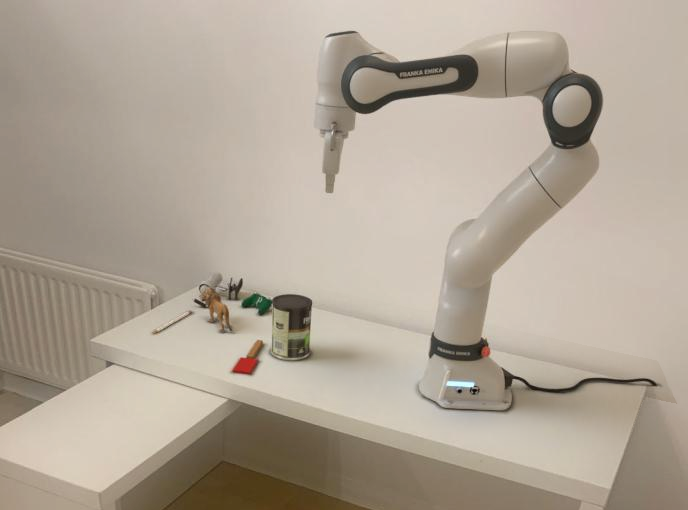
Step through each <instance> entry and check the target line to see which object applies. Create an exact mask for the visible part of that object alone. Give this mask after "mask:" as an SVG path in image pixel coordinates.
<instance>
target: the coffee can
mask: <svg viewBox="0 0 688 510" xmlns="http://www.w3.org/2000/svg"><path fill="white" fill-rule="evenodd" d="M271 299H272V305H271V309H272V310H271V350H270V353H271V355H272V356H273V357H275V358H276V359H279V360H282V361H283V360H284V361H299V360H301V361H302V360H304V359H306V358H308V357H309V356H310V346H311V345H310V344H311V327H312V325H311V324H312V306H313V300H312V299H311V298H310V297H308V296H305V295H301V294H295V293H292V294H291V293H286V294H285V293H284V294H280V295H277V296H274V297H273V298H271Z"/></svg>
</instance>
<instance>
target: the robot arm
mask: <svg viewBox="0 0 688 510" xmlns="http://www.w3.org/2000/svg"><path fill="white" fill-rule="evenodd" d="M569 55H570V54H569V47H568V44H567V42H566V39H565V37H564V36H563V35H562V34H560V33H558V32H555V31H545V30H519V31H510V32H501V33H497V34H493V35H489V36H485V37H482V38H480V39H477V40H475V41H472V42H470V43H467V44H465V45H463V46H462V47H460V48H458V49H456V50H455V49H454V50H453V51H451V52H449V53H446V54H442V55H440V56H436V57H431V58H423V59H422V58H421V59H414V60H407V61H399V60H398V58H396V57H395V56H393V55H392V54H389V53H387V52H385V51H382V50H381V49H379V48H377V47H375V46H374V45H372V43H369V42H368V41H367V40H366V39H365V38H363V37H362V35H361V34H360V32H358V31H356V30H346V31H338V32H333V33H329V34H327V35H326V36H325V37H324V38H323V39H322V41H321V44H320V49H319V54H318V62H317V74H316V83H317V94H316V98H315V104H314V105H315V106H314V123H313V125H314V126H313V127H314V128H315V129H318V130H319V132H318V133H319V134H318V135H319V137H321V138H323V147H322V148H323V149H322V162H321V163H322V165H321V171H322V174H324V175H325V178H324V179H325V188H324V189H325V190H324V191H325V193H326V194H333V193H334V191H335V190H334V189H335V181H336V176H337V175H339V172H340V166H341V158H342V153H343V148H344V143H345V140H346V139H348V138H349V132H352V131H355V129H356V119H357V113H358V114H361V115H369V114H374V113H376V112H377V111H379V110H380V109H382V108H383V107H385V106H387V105H389V104H390V103H392V102H395V101H400V100H406V99H407V100H408V99H413V98H423V97H430V96H439V95H441V96H443V95H445V96H457V97H458V96H459V97H467V98H476V99H507V98H515V97H532V98H536V99H538V101H540V103H541V106H542V119H543V123H544V125H545V128H546V131H547V133H548V136H549V139H550V143H549V145H548V146H547V148H546V149H545V150H543V152H542V153H541V154H540V155H539V157H537V158H536V159H535V160H534V161H533V162H532V163H530V164H529V165H528V166H526V168H525V169H524V170H523V171H522V172H521V173H520V174H519V175H517V176H516V177H515V178H514V179H513V180H512V181H510V183H509V184H507V186H505V187H504V188H503V189H502V190H501V191H500V192H499V193H497V195H496V196H495V197H494V199H493V200H492V201H491V202H490V203H489V204H488V205H487V207H486V208H485V209H484V210H483V211H482V212H481V213H480V215H478V216H477V217H476V218H471V219H467V220H465V221H463V222H461V223H459V224H458V225H457V226H456V227H455V228H454V229H453V230H452V232H451V233H450V236H449V238H448V242H447V246H446V251H445V255H444V267H443V272H442V278H441V279H442V280H441V285H440V291H439V296H438V302H437V307H436V308H437V309H436V316H435V321H434V328H433V331H432V333H431V337H430V340H429V346H428V351H427V352H428V360H427V362H426V363H427V364H426V366H425V370H424V372H423V376H422V378H421V380H420V382H419V384H418V391H419V393H420V394H421V395H423V397H425V398H427V399H429V400H431V401H433V402H435V403H437V404H438V405H439V406H440V407H441V408H445V409H456V410H457V409H459V410H481V411H482V410H483V411H506V410H507V409H508V408H510V407H511V405H512V401H513V400H512V399H513V395H512V391H511V389H510V387H512V386H513V380H516V381H519V382H522V384H524V386H526V387H527V388H529V389H532V390H535V391H541V392H548V393H561V392H563V393H564V392H571V391H574V390H576V389H578V388H579V387H580V386H581V385H583V384H584V383H587V382H588V383H589V382H596V381H597V382H599V381H600V382H611V383H623V384H628V383H639V382H647V383H650V384H651V385H652V386H653V387H658V384H657V383H656V382H655V381H654V380H653V379H651V378H647V377H639V378H630V379H621V378H611V377H587V378H583V379H582V380H580V381H578V382H577V383H576V384H575V385H573V386H570V387H563V388H547V387H540V386H536V385H533V384H531V383H529V382H528V381H527V380H526V379H525V378H523V377H520V376H516V375H514V374H512V373H511V372H510V371H508V370H507V369H505V368H504V367H502V366H500V365H499V364H498V363H497V362H496V361H495V360H494V359H492V358H491V348H490V347H489V342H488V339H487V337H485V338H483V337H482V335H483V330H484V326H485V321H486V315H487V309H488V304H489V298H490V291H491V285H492V281H493V275H494V274H495V273H496V272H497V271H498V270H499V269H501V268H502V267H503V265H505V263H506V262H507V261H508V260H509V259H511V257H512V256H514V254H515V253H516V252H517V251H518V250H519V249H520V248H521V247H522V246H523V244H525V242H527V240H528V239H529V238H531V236H532V235H533V234H535V233H536V232H537V231H538V230H540V228H542V227H543V226H544V225H545V224H546V223H547V222H549V220H550V219H552V218H553V217H554V216H556V214H558V213H559V212H560V211H561V210H562V209H564V208H565V207H566V206H567V205H568V204H569V203H570V202H571V201H573V200H574V198H576V197H577V196H578V194H579V193H581V192H582V190H583V189H584V188H585V187H586V186H587V185H588V184H589V182H590V181H591V180H592V179H593V178H594V176H596V174H597V172H598V170H599V168H600V156H599V152H598V150H597V148H596V146H595V145H594V143H593V142H592V140H591V137H592V135H593V133H594V130H595V128H596V126H597V123H598V121H599V118H600V116H601V114H602V111H603V108H604V93H603V89H602V88H601V86H600V83H598V81H597V80H596V79H595V78H593V77H592V76H590V75H588V74H585V73H579V72H577V71H575V70H573V69H571V68H570V64H569Z"/></svg>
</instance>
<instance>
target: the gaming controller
mask: <svg viewBox="0 0 688 510" xmlns="http://www.w3.org/2000/svg"><path fill="white" fill-rule="evenodd" d="M272 299H273V298H271V297H269V296H268V295H267V296H264V295H261V293H259V292H258V291H257V290H254V293H252V295H250V296H248V297H246V298H244V299H243V300H242V301H241V305H240V306H241V307H242V308H247V307H250V306H254V307H255V308H258V311H257V314H258V315H260V316H261V315H263V314H265V313H266V312H267V311H269V310H270V309H271V308H272Z"/></svg>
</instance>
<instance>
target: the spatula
mask: <svg viewBox="0 0 688 510" xmlns="http://www.w3.org/2000/svg"><path fill="white" fill-rule="evenodd" d="M263 345H264V341H263V340H262V339H256V341H255V342H254V344H253V346H252V347H251V348H250V349H249V351H248V353H247V354H246V357H242V356H241V357H240V358H239V359H238V361H237V363H236V364H235V365H234V367H233V368H232V373H235V374H236V373H238V374H243V375H251V374H252V372H253V370H254V369H255V367H256V365H257V364H258V362H259V359H258V358H255V357H256V356H257V354H258V353H259V351H260V349H261V348H262V347H263Z"/></svg>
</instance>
